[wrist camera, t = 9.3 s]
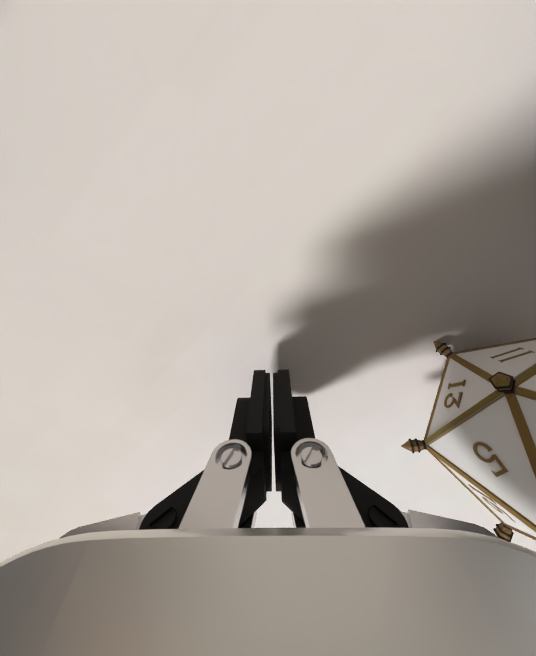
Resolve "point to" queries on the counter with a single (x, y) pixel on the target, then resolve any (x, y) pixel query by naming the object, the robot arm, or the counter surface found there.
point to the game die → (489, 429)
